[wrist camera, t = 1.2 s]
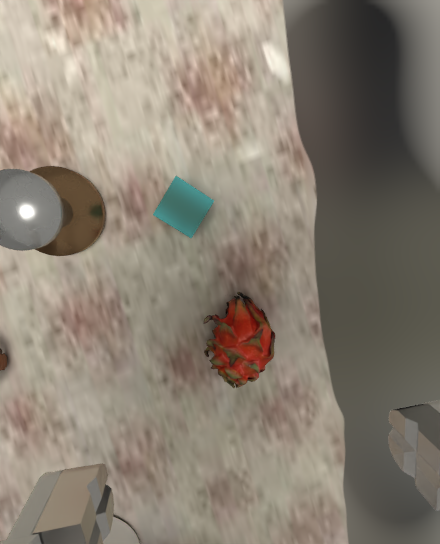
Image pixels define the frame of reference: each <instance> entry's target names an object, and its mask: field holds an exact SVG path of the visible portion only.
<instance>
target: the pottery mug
mask: <svg viewBox="0 0 440 544" xmlns="http://www.w3.org/2000/svg"><path fill="white" fill-rule="evenodd" d="M6 367H7V357H6V355H5V354H4V353H3V354H2V350H1V349H0V370H5V368H6Z"/></svg>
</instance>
